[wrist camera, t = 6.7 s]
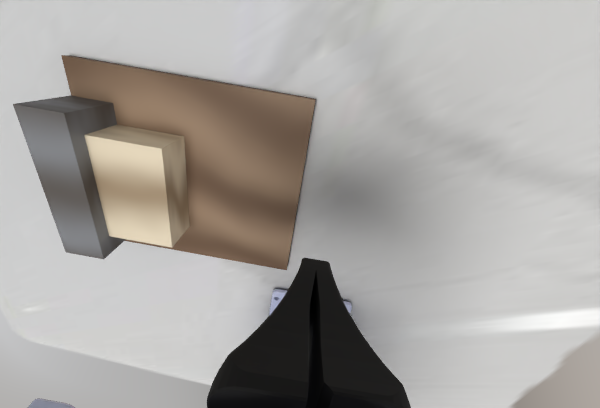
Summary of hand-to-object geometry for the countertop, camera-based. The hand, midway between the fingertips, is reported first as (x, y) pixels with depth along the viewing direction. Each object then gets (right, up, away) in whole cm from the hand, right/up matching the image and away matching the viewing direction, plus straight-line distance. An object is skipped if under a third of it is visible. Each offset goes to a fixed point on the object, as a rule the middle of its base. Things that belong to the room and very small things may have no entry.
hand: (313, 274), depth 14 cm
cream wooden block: (-12, +6, +8) cm, 15 cm away
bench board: (-9, +6, +8) cm, 13 cm away
